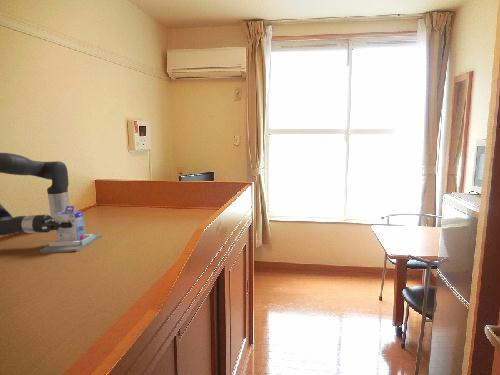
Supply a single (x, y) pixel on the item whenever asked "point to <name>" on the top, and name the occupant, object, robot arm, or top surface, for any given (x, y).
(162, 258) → the top surface
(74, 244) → the rail plate
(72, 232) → the ink cartridge box
